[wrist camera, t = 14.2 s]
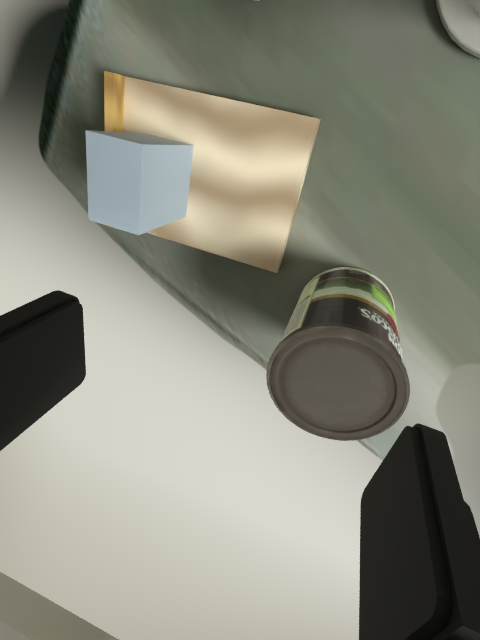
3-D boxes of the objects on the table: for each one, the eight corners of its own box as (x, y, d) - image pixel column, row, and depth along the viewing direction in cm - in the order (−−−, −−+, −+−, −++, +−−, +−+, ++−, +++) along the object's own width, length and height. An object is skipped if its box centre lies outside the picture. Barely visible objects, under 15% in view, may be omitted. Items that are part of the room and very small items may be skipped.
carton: (193, 145, 33) (142, 144, 25) (185, 216, 36) (138, 235, 29) (145, 133, 34) (82, 129, 26) (142, 204, 37) (85, 218, 30)
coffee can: (366, 247, 33) (366, 302, 21) (412, 330, 35) (436, 423, 24) (279, 292, 38) (241, 358, 26) (324, 363, 41) (307, 453, 29)
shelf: (123, 76, 33) (102, 70, 31) (320, 119, 30) (316, 117, 27) (121, 220, 41) (103, 225, 38) (279, 268, 37) (273, 278, 34)
